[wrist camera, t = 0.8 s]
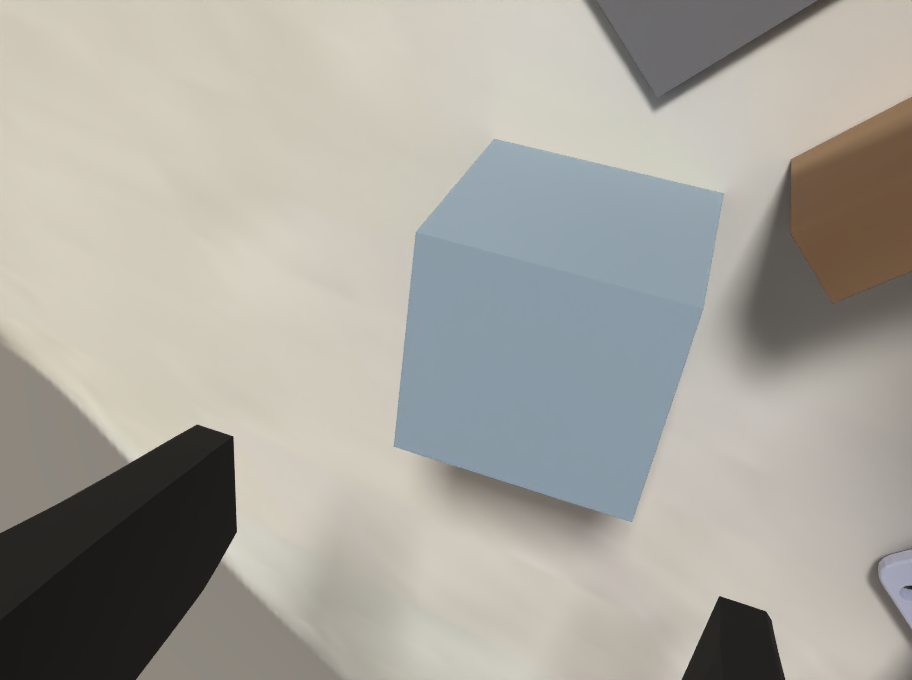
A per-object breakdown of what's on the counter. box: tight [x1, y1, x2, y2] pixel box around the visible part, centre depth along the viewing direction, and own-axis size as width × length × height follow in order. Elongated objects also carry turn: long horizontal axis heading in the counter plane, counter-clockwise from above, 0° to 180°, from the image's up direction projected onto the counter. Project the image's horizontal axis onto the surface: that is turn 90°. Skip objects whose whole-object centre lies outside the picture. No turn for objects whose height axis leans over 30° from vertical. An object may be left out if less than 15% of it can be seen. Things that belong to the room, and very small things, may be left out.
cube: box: [394, 139, 724, 522], centre depth 18 cm, size 5×5×5 cm
